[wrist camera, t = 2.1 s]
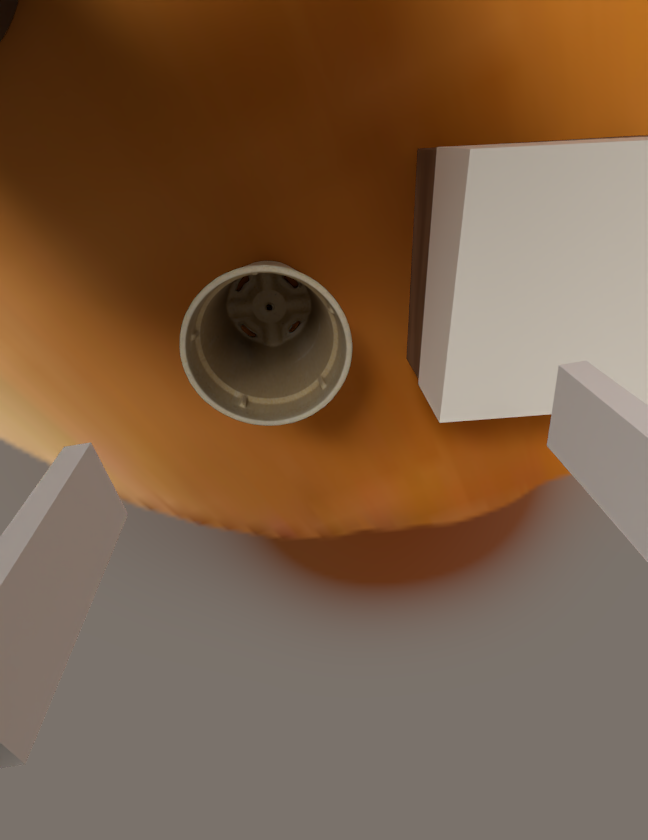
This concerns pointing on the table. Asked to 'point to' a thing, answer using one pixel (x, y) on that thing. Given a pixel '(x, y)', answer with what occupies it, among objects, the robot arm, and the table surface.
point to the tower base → (426, 248)
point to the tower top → (534, 273)
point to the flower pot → (265, 345)
